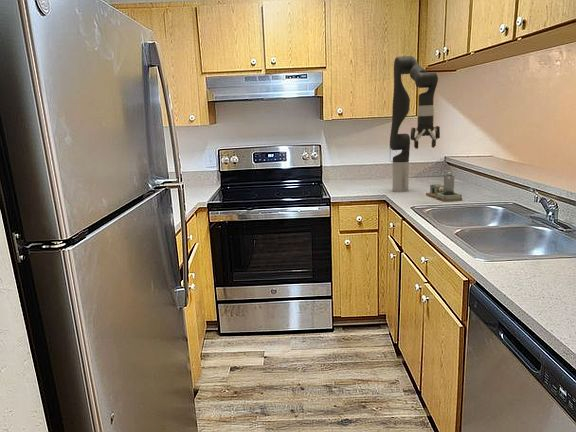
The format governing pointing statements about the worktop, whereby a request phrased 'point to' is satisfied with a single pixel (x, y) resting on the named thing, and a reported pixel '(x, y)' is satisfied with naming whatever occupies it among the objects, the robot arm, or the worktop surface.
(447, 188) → the grey bottle
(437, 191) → the shaft and pillow blocks
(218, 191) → the worktop surface
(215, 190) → the worktop surface
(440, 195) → the hub seat
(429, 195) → the base board
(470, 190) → the worktop surface
